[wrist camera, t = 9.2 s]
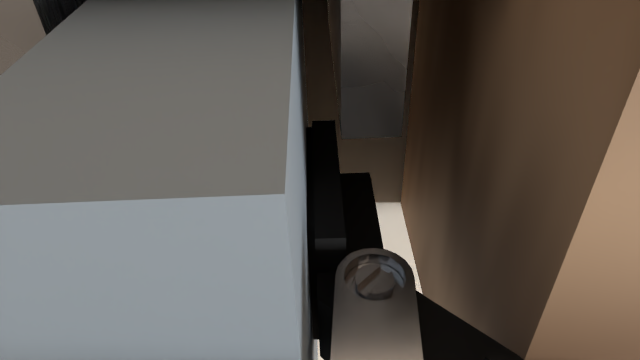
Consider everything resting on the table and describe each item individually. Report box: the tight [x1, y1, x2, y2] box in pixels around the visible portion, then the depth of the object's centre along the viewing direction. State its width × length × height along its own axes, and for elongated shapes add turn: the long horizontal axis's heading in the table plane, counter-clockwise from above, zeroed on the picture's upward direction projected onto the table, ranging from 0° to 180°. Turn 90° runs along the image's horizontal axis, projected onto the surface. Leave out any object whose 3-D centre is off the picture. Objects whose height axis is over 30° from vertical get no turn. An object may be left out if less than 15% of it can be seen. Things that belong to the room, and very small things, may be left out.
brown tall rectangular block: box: [401, 0, 640, 360], centre depth 10 cm, size 10×5×9 cm, turn 2°
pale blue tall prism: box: [0, 0, 318, 360], centre depth 10 cm, size 10×4×9 cm, turn 2°
